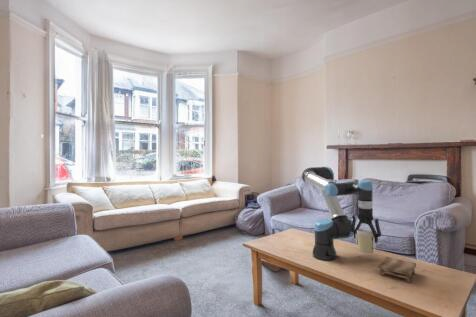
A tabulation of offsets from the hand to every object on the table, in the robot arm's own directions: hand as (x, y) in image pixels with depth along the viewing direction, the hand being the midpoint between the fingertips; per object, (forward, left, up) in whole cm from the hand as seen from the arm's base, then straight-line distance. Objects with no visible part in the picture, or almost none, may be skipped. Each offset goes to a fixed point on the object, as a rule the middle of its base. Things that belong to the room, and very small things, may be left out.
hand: (365, 245), depth 154 cm
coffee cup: (0, 0, -3) cm, 3 cm away
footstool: (+15, +3, -13) cm, 20 cm away
